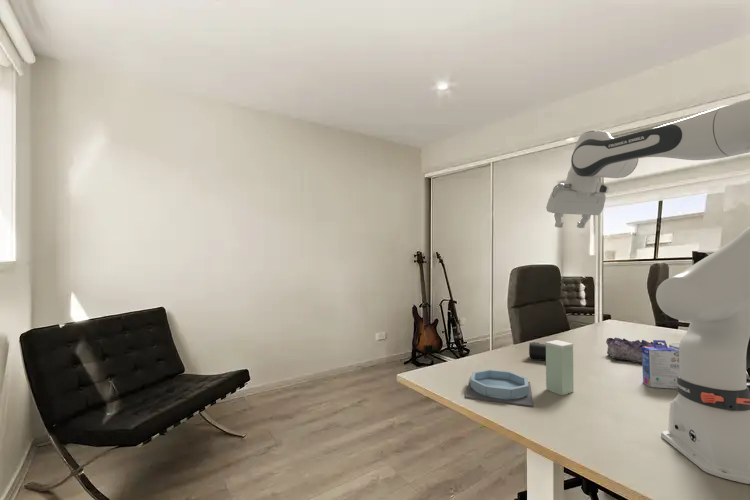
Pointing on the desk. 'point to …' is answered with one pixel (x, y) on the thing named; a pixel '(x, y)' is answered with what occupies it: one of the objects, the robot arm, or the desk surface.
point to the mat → (523, 401)
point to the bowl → (500, 384)
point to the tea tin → (559, 367)
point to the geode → (627, 349)
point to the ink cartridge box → (660, 365)
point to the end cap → (537, 351)
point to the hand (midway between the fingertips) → (569, 227)
